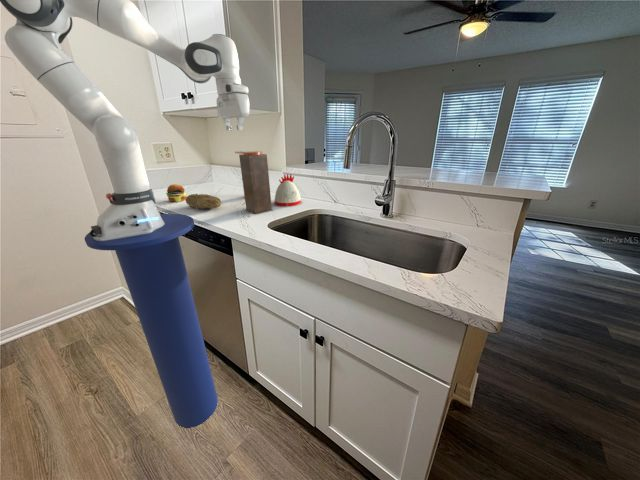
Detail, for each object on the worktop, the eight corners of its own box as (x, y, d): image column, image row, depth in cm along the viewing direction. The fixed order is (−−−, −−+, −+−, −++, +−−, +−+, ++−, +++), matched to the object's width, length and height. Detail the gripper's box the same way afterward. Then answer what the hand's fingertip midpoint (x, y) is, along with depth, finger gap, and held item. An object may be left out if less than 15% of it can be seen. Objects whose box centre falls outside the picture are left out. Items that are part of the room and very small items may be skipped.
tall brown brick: (255, 213, 121) (248, 155, 111) (246, 210, 127) (239, 154, 117) (271, 210, 127) (266, 154, 117) (262, 206, 133) (256, 153, 123)
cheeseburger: (167, 203, 142) (163, 184, 140) (169, 203, 151) (164, 186, 150) (188, 200, 146) (183, 182, 144) (188, 201, 156) (184, 184, 154)
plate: (248, 155, 112) (248, 152, 111) (229, 153, 125) (229, 150, 124) (265, 154, 117) (265, 151, 116) (245, 152, 130) (245, 150, 129)
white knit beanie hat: (305, 203, 137) (303, 174, 131) (280, 207, 131) (278, 177, 125) (294, 198, 148) (293, 171, 142) (271, 201, 142) (269, 173, 136)
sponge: (184, 209, 135) (196, 208, 120) (183, 194, 134) (194, 191, 120) (210, 209, 144) (224, 208, 129) (209, 194, 143) (223, 192, 128)
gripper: (210, 92, 101) (215, 130, 106) (233, 85, 87) (239, 130, 92) (225, 93, 105) (230, 130, 110) (250, 87, 91) (254, 130, 96)
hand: (234, 130), depth 101 cm, fingers open, 8 cm apart
